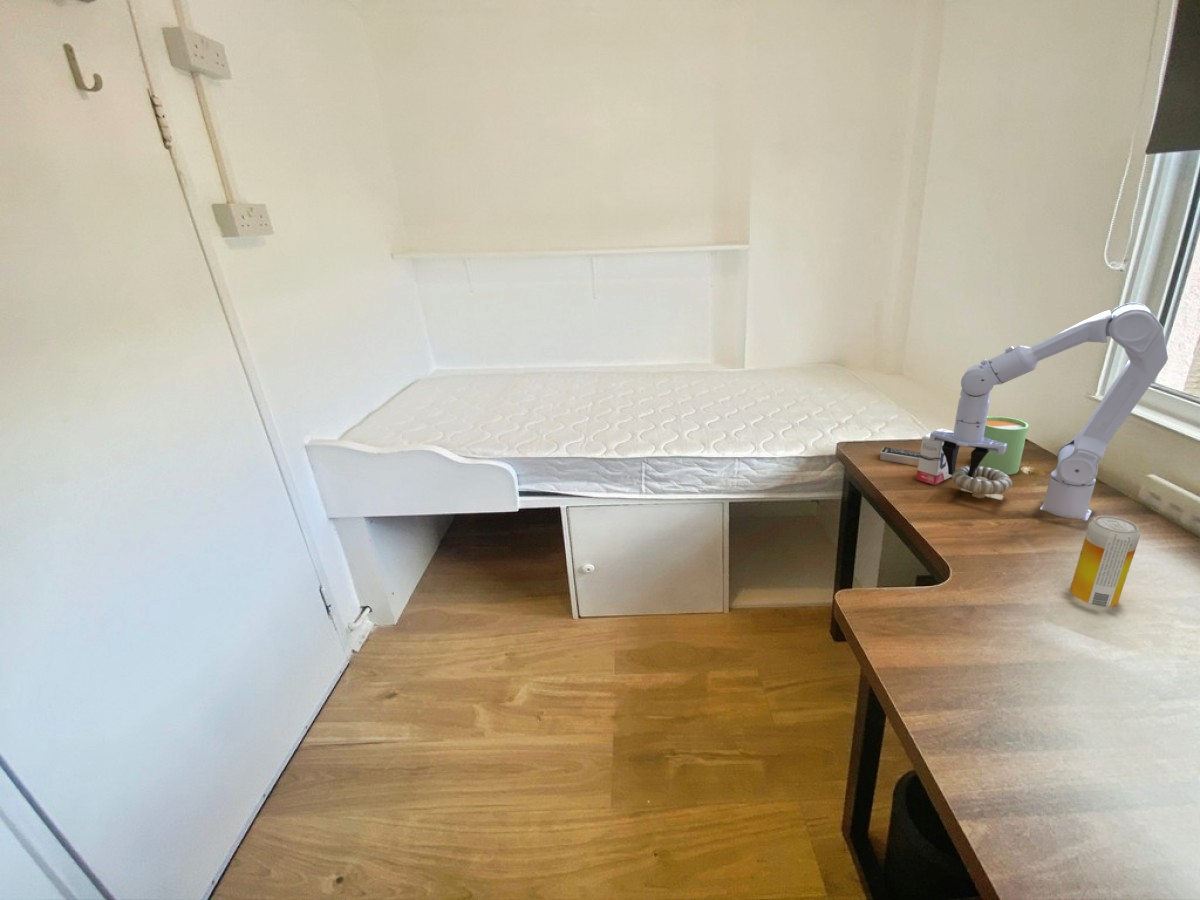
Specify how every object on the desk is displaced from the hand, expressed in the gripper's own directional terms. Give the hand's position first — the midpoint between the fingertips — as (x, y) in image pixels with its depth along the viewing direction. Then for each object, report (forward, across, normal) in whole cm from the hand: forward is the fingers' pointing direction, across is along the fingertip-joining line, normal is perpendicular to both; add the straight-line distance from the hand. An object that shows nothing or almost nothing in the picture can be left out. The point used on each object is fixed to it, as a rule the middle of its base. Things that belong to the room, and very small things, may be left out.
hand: (960, 475), depth 127 cm
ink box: (+6, -7, +7) cm, 12 cm away
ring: (0, +4, 0) cm, 4 cm away
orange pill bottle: (+6, +28, -28) cm, 40 cm away
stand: (+5, +4, 0) cm, 7 cm away
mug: (+6, +1, +24) cm, 25 cm away
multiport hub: (+6, -17, +14) cm, 23 cm away
